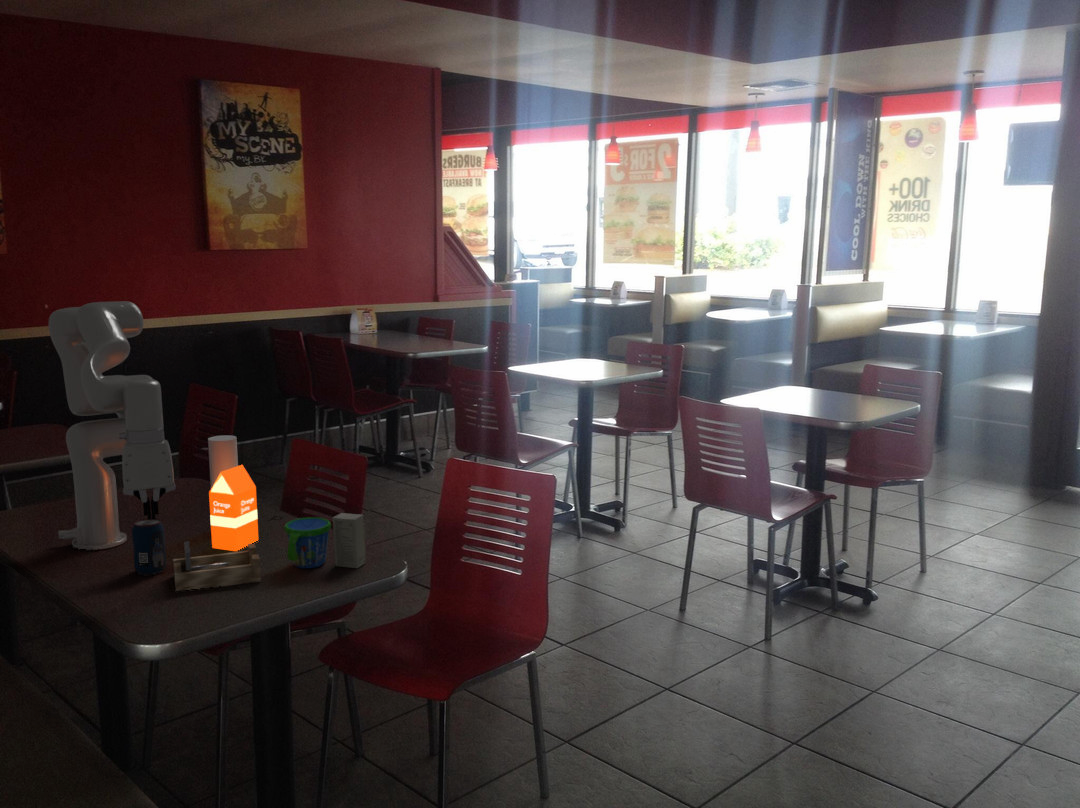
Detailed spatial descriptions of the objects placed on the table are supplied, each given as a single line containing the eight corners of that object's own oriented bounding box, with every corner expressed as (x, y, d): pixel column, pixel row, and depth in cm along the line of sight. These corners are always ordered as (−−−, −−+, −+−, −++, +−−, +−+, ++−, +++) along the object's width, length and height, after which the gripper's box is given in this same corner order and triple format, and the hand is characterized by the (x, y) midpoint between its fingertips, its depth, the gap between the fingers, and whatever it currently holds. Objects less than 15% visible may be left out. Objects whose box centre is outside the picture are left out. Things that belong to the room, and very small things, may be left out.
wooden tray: (175, 592, 203) (174, 568, 202) (174, 575, 214) (173, 552, 213) (260, 581, 210) (259, 558, 209) (255, 565, 220) (254, 543, 220)
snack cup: (308, 578, 213) (306, 535, 211) (270, 571, 216) (268, 530, 215) (346, 557, 227) (345, 517, 225) (310, 551, 231) (308, 512, 229)
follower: (187, 583, 205) (185, 552, 204) (185, 570, 213) (184, 541, 212) (229, 577, 209) (228, 548, 208) (227, 565, 216) (225, 537, 215)
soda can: (143, 565, 220) (139, 517, 218) (171, 566, 220) (168, 517, 218) (129, 576, 213) (125, 525, 211) (159, 576, 213) (155, 526, 211)
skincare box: (366, 563, 222) (365, 514, 220) (357, 569, 218) (355, 519, 216) (343, 560, 225) (341, 511, 222) (333, 566, 220) (331, 516, 218)
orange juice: (211, 548, 233) (207, 470, 230) (234, 537, 241) (230, 463, 238) (237, 551, 231) (233, 473, 227) (259, 541, 239) (255, 465, 235)
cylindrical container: (236, 533, 245) (231, 441, 240) (209, 533, 245) (203, 440, 241) (245, 525, 252) (240, 435, 247) (219, 525, 252) (213, 435, 248)
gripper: (107, 442, 195) (113, 526, 198) (182, 436, 200) (188, 518, 203) (108, 436, 202) (115, 517, 205) (181, 430, 207) (187, 510, 210)
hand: (151, 517), depth 204 cm, fingers closed
